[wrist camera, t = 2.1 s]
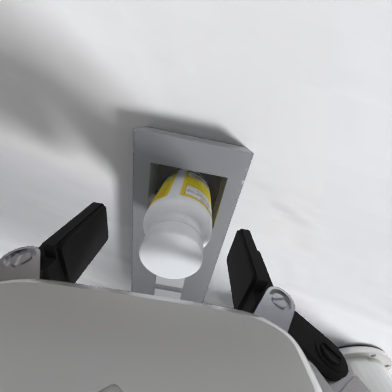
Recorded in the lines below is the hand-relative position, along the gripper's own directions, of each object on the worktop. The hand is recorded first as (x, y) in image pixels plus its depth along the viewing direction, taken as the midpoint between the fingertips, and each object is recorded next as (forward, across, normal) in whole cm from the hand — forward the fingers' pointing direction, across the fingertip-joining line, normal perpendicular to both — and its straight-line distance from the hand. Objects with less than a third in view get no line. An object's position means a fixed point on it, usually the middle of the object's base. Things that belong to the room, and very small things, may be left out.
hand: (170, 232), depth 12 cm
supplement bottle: (+8, 0, 0) cm, 8 cm away
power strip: (+8, 0, +6) cm, 10 cm away
